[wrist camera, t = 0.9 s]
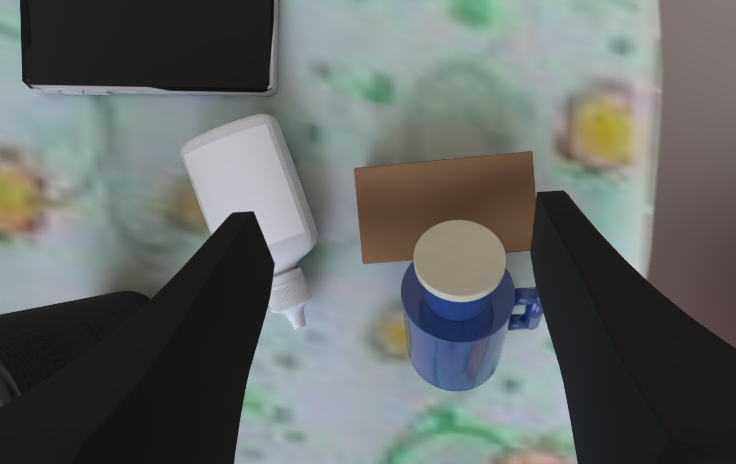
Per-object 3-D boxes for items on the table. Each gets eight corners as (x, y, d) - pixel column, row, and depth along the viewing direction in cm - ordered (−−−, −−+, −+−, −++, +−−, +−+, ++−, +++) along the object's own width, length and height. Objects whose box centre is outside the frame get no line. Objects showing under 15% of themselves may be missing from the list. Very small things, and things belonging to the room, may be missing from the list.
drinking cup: (211, 319, 31) (-140, 552, 11) (142, 410, 32) (-301, 782, 12) (115, 243, 31) (-409, 338, 11) (49, 336, 32) (-550, 581, 12)
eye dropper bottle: (177, 132, 25) (260, 353, 26) (281, 106, 27) (355, 310, 28) (176, 151, 29) (248, 342, 30) (267, 128, 31) (332, 306, 32)
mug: (526, 364, 30) (589, 451, 20) (410, 372, 30) (413, 460, 20) (515, 206, 29) (574, 213, 19) (397, 217, 29) (393, 229, 19)
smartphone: (272, 95, 28) (22, 90, 29) (277, 99, 30) (37, 94, 30) (274, -52, 28) (18, -52, 29) (279, -42, 29) (33, -42, 30)
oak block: (520, 242, 29) (539, 250, 25) (368, 254, 30) (362, 264, 26) (515, 156, 29) (532, 150, 25) (360, 171, 29) (353, 168, 25)
